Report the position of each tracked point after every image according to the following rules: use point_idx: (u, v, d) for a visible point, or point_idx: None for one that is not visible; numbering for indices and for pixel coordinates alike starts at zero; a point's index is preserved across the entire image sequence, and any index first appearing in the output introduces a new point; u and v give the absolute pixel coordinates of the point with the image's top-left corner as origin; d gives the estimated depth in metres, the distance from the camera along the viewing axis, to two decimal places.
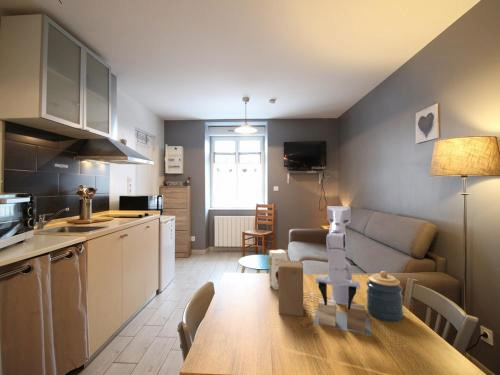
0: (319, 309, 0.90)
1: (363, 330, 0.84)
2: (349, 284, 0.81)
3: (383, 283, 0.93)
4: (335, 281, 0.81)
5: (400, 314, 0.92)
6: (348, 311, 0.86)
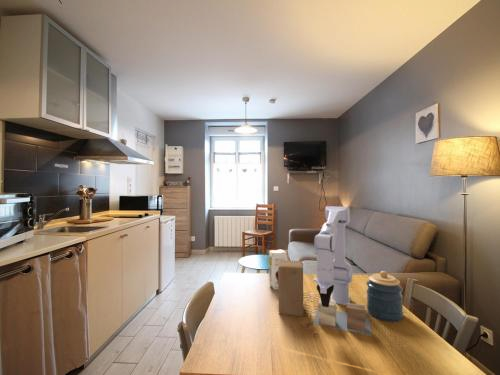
0: (319, 309, 0.90)
1: (363, 330, 0.84)
2: (318, 284, 0.82)
3: (383, 283, 0.93)
4: None
5: (400, 314, 0.92)
6: (348, 311, 0.86)
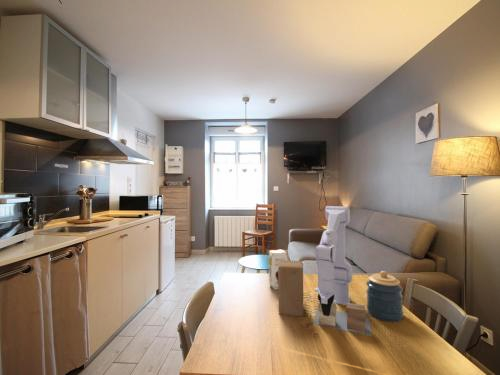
0: (319, 309, 0.90)
1: (363, 330, 0.84)
2: (319, 294, 0.85)
3: (383, 283, 0.93)
4: None
5: (400, 314, 0.92)
6: (348, 311, 0.86)
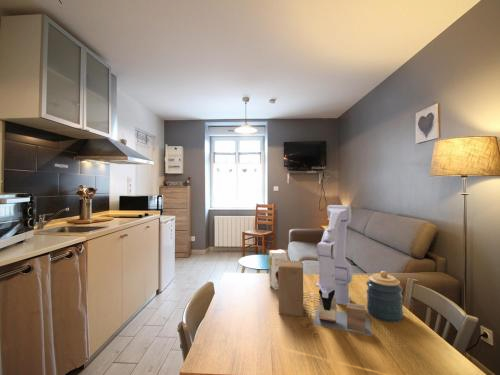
0: (320, 302, 0.93)
1: (363, 330, 0.84)
2: (320, 289, 0.88)
3: (383, 283, 0.93)
4: None
5: (400, 314, 0.92)
6: (348, 311, 0.86)
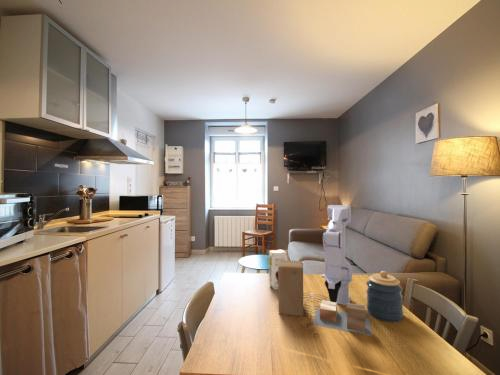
0: (322, 302, 0.98)
1: (363, 330, 0.84)
2: (327, 280, 0.85)
3: (383, 283, 0.93)
4: None
5: (400, 314, 0.92)
6: (348, 311, 0.86)
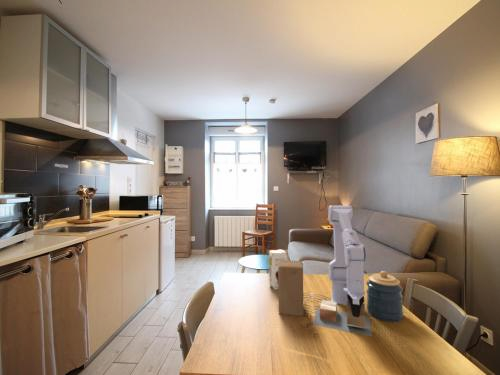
0: (322, 302, 0.98)
1: (363, 325, 0.85)
2: (350, 295, 0.83)
3: (383, 283, 0.93)
4: None
5: (400, 314, 0.92)
6: (348, 305, 0.89)
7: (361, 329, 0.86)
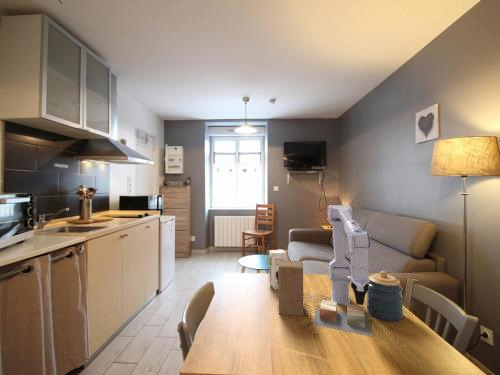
0: (322, 302, 0.98)
1: (362, 314, 0.89)
2: (354, 282, 0.82)
3: (383, 283, 0.93)
4: None
5: (400, 314, 0.92)
6: (348, 305, 0.96)
7: (361, 329, 0.86)
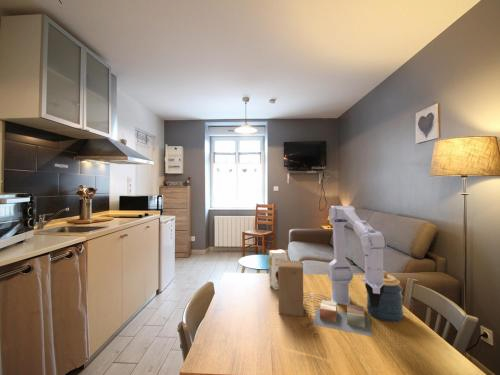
0: (322, 302, 0.98)
1: (362, 314, 0.89)
2: (369, 284, 0.80)
3: None
4: (365, 277, 0.84)
5: (400, 314, 0.92)
6: (348, 305, 0.96)
7: (361, 329, 0.86)
